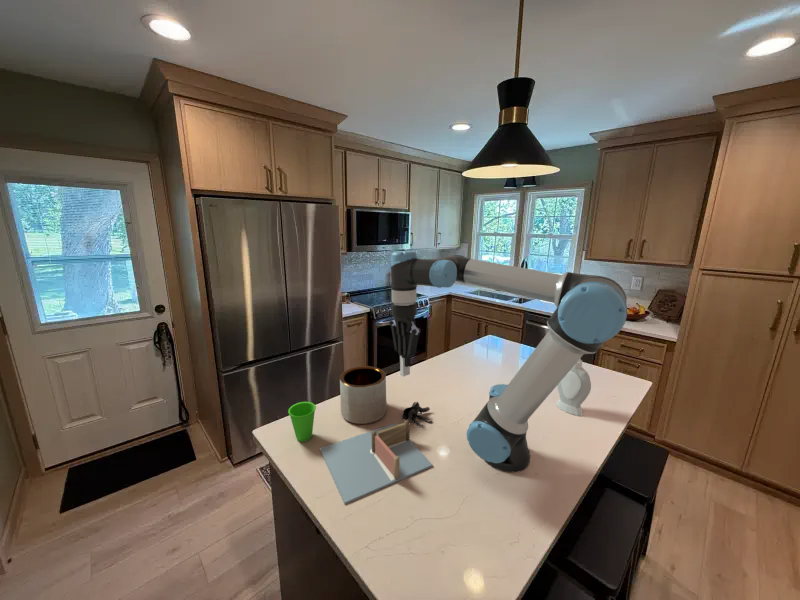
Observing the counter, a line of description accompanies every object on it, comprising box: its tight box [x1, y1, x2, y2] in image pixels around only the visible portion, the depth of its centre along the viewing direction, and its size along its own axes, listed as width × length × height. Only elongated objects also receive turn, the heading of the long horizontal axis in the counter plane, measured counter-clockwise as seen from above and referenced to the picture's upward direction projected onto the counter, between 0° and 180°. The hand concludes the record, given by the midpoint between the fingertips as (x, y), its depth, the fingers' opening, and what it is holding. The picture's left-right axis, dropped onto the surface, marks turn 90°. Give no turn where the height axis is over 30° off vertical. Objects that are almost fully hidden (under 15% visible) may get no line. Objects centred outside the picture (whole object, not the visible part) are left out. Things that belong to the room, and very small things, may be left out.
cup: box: [287, 401, 317, 443], centre depth 110 cm, size 9×9×11 cm
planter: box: [339, 365, 388, 425], centre depth 124 cm, size 18×18×16 cm
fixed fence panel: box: [371, 420, 411, 453], centre depth 106 cm, size 2×14×8 cm, turn 119°
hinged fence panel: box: [375, 435, 399, 479], centre depth 96 cm, size 13×2×6 cm, turn 33°
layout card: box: [319, 422, 433, 505], centre depth 101 cm, size 24×28×1 cm
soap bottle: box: [556, 357, 592, 417], centre depth 125 cm, size 13×8×24 cm, turn 39°
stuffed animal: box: [401, 401, 433, 428], centre depth 124 cm, size 12×10×12 cm
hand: (405, 374), depth 102 cm, fingers closed
